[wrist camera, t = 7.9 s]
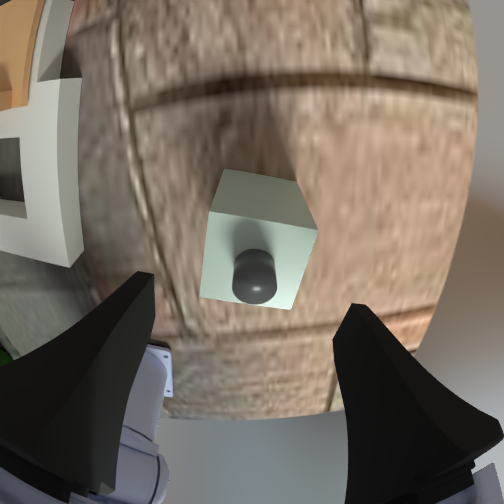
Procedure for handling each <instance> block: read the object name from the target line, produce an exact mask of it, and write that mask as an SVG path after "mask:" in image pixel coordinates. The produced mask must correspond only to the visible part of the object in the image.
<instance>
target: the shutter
mask: <svg viewBox="0 0 504 504" xmlns="http://www.w3.org/2000/svg"><path fill="white" fill-rule="evenodd" d="M43 4H44V0H11V1H9V2H7V3H5V4H3V5H1V6H0V111H4V110H7V109H11V108H17V107H23V106H27V100H28V86H29V76H30V68H31V61H32V54H33V48H34V42H35V37H36V32H37V28H38V23H39V19H40V15H41V11H42V7H43Z"/></svg>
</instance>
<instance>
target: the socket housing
mask: <svg viewBox="0 0 504 504" xmlns="http://www.w3.org/2000/svg"><path fill="white" fill-rule="evenodd" d="M73 5H74V1H71V0H44V4H43V7H42V11H41V15H40V19H39V23H38V28H37V32H36V37H35V42H34V48H33V54H32V61H31V68H30V76H29V86H28V100H27V106H23V107H17V108H11V109H7V110H4V111H0V138H13V137H20V156H21V171H22V182H23V191H24V199H25V202H20V201H12V200H4V199H1V196H0V250H2V251H5V252H9V253H13V254H16V255H20V256H24V257H28V258H32V259H35V260H39V261H43V262H47V263H51V264H56V265H60V266H64V267H68V268H70V267H71V266H72V264H73V263H74V262H75V261H76V260H77V258H78V257H79V256H80V255H81V253H82V252H83V251H84V243H83V235H82V226H81V216H80V204H79V188H78V120H79V105H80V93H81V84H82V78H68V79H60V72H61V64H62V58H63V51H64V46H65V40H66V35H67V30H68V26H69V21H70V17H71V13H72V9H73Z"/></svg>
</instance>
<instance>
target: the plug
mask: <svg viewBox="0 0 504 504" xmlns="http://www.w3.org/2000/svg"><path fill="white" fill-rule="evenodd" d="M317 232H318V229H317V226H316V224H315V222H314V219H313V217H312V214H311V212H310V210H309V208H308V205H307V203H306V201H305V198H304V196H303V194H302V192H301V189H300V187H299V185H298V183H297V182H296V181H291V180H286V179H281V178H276V177H271V176H266V175H260V174H255V173H249V172H243V171H237V170H231V169H225V168H224V171H223V173H222V176H221V179H220V182H219V185H218V187H217V190H216V193H215V196H214V199H213V202H212V205H211V208H210V211H209V217H208V225H207V233H206V242H205V250H204V259H203V268H202V278H201V288H200V297H204V298H210V299H217V300H223V301H230V302H236V303H243V304H250V305H258V306H265V307H273V308H280V309H288V310H291V307H292V304H293V302H294V299H295V296H296V293H297V291H298V288H299V285H300V282H301V279H302V277H303V274H304V271H305V268H306V265H307V262H308V259H309V256H310V253H311V250H312V248H313V245H314V241H315V238H316V235H317Z"/></svg>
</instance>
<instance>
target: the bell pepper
mask: <svg viewBox="0 0 504 504" xmlns="http://www.w3.org/2000/svg"><path fill="white" fill-rule="evenodd" d="M11 361H12V359H11V357H10V356H9V355H8V354H7V353H6V352H5V351H3V350H1V349H0V366H2V365H5V364H7V363H9V362H11Z"/></svg>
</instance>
